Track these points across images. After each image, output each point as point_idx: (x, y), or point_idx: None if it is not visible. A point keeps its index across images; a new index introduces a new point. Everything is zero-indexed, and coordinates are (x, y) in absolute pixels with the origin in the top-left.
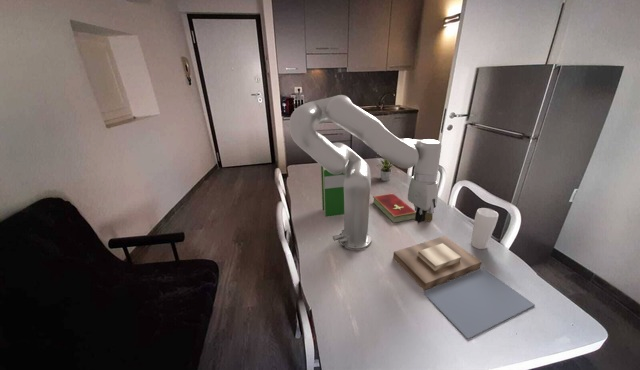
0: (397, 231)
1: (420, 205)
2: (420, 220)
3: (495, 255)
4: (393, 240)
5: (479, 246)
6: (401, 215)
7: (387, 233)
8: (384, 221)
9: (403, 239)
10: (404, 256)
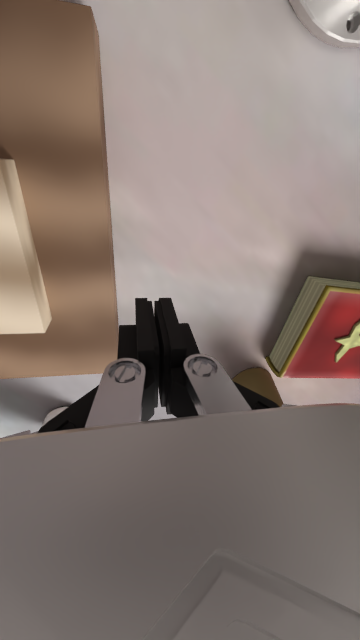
0: (258, 247)
1: (20, 518)
2: (131, 325)
3: (14, 425)
4: (223, 178)
5: (47, 419)
6: (309, 320)
7: (278, 191)
8: (342, 245)
9: (203, 231)
10: (19, 51)
